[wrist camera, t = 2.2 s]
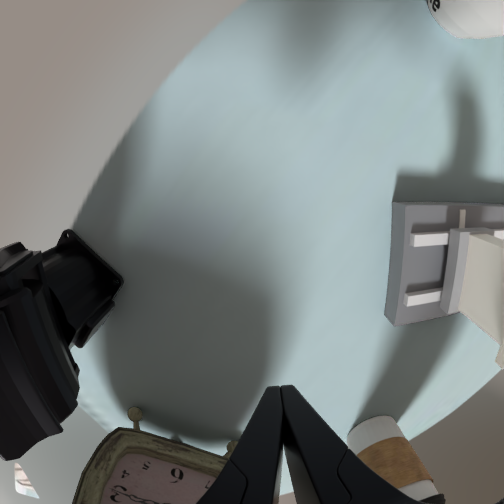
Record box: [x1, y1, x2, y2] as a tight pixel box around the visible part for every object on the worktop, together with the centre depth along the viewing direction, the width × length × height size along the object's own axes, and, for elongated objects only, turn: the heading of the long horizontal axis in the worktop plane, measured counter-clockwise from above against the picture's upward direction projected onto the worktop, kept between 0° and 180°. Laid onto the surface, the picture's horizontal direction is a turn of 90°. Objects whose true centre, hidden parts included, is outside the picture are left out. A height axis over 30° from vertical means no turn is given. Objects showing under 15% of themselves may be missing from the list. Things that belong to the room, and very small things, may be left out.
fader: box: [440, 227, 504, 370], centre depth 13 cm, size 4×7×8 cm, turn 4°
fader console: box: [384, 202, 504, 326], centre depth 18 cm, size 16×9×3 cm, turn 94°
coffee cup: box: [347, 416, 445, 504], centre depth 18 cm, size 8×8×15 cm
